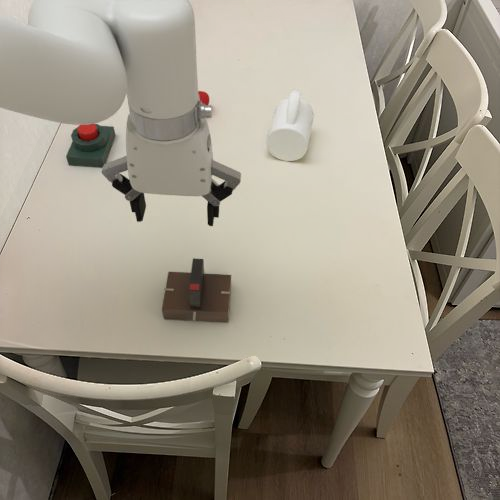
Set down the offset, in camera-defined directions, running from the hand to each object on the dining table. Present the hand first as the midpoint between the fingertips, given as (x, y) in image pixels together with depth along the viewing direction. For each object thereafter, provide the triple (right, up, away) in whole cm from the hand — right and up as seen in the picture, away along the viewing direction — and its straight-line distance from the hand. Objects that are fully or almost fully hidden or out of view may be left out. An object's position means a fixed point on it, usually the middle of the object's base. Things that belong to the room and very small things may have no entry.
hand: (176, 216), depth 67 cm
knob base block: (+2, -13, +10) cm, 17 cm away
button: (-22, +18, +28) cm, 40 cm away
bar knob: (+2, -11, +8) cm, 14 cm away
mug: (+18, +17, +35) cm, 43 cm away
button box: (-22, +16, +31) cm, 41 cm away
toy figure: (-4, +23, +38) cm, 45 cm away
